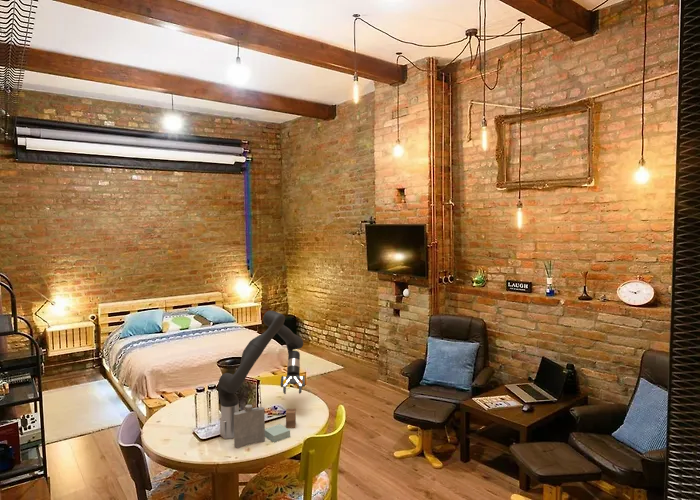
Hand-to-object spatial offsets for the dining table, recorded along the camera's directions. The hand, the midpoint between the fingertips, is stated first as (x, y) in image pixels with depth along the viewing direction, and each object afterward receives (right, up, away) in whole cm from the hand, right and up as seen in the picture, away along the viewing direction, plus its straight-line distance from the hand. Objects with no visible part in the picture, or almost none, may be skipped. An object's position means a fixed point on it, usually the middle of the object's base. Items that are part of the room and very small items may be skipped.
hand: (292, 393), depth 269 cm
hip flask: (-18, -17, -30) cm, 39 cm away
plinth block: (-5, -16, -22) cm, 28 cm away
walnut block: (+1, -15, -10) cm, 18 cm away
